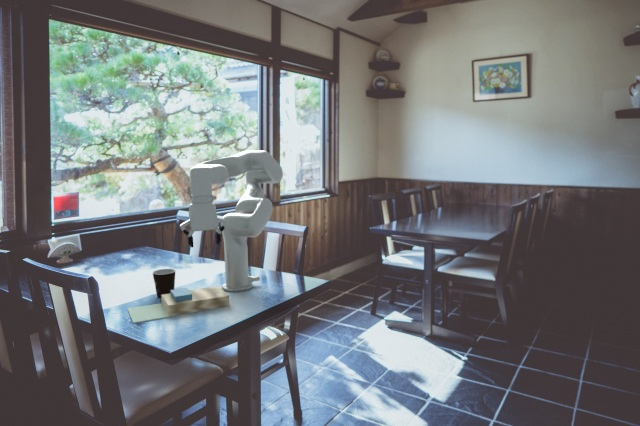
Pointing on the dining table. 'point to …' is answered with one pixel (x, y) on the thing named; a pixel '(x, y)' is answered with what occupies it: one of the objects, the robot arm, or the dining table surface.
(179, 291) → the blue rectangular block
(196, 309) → the beige wood-grain panel
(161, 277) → the coffee mug
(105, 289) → the dining table surface
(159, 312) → the mat
